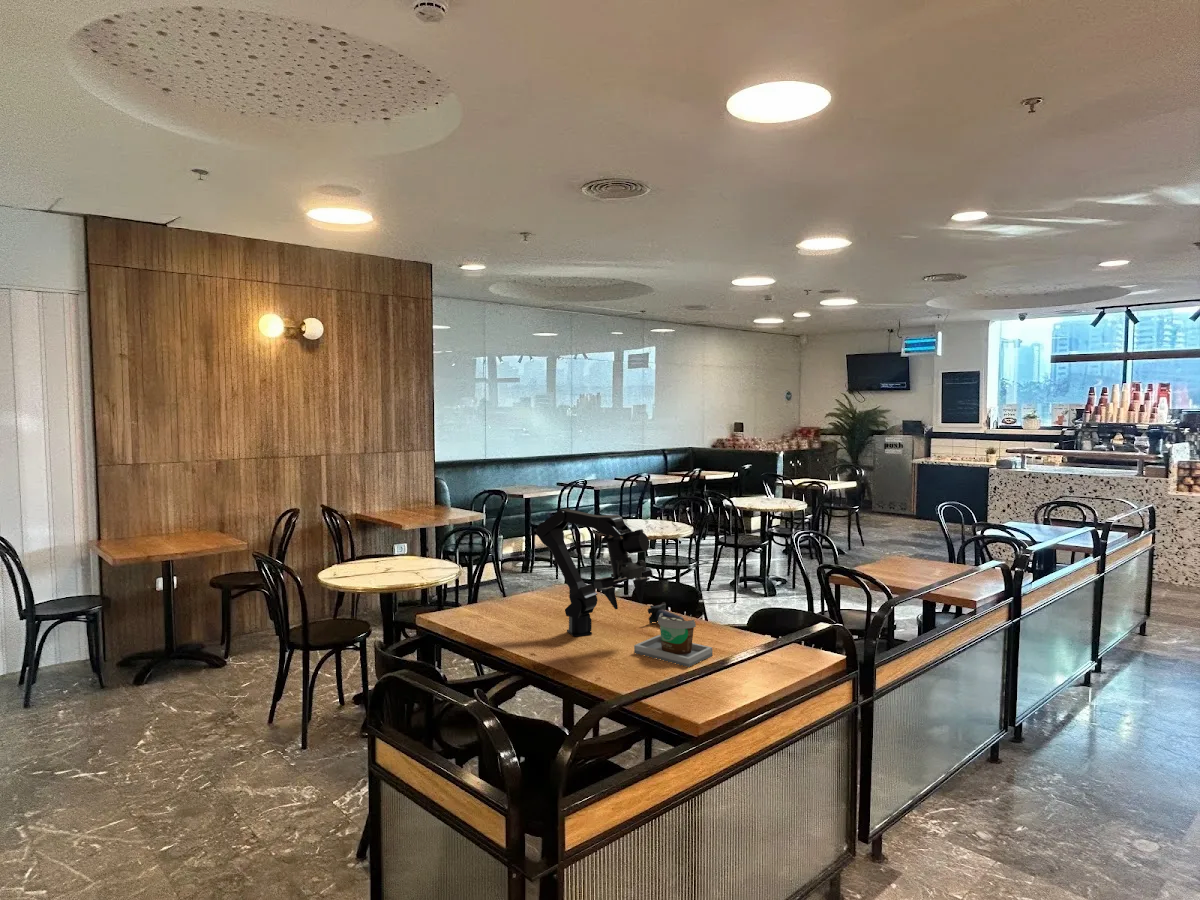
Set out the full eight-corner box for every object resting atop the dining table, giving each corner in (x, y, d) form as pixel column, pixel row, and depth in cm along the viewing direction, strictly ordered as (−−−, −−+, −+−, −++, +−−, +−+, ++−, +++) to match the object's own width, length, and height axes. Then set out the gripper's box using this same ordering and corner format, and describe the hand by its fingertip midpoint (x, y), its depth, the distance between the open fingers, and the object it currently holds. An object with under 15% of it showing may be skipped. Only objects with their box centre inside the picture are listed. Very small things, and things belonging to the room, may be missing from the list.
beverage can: (648, 628, 249) (675, 637, 240) (646, 607, 247) (673, 616, 238) (665, 618, 255) (692, 627, 246) (663, 597, 253) (691, 605, 244)
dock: (688, 667, 206) (688, 658, 206) (634, 653, 218) (634, 645, 218) (712, 655, 216) (712, 647, 216) (658, 642, 228) (659, 634, 228)
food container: (649, 649, 218) (649, 616, 217) (660, 644, 223) (661, 612, 222) (684, 658, 210) (684, 624, 210) (695, 653, 215) (695, 619, 214)
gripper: (606, 560, 216) (617, 613, 214) (657, 548, 226) (667, 598, 224) (588, 562, 225) (598, 612, 224) (637, 550, 235) (647, 599, 234)
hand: (628, 605), depth 226 cm, fingers open, 9 cm apart
